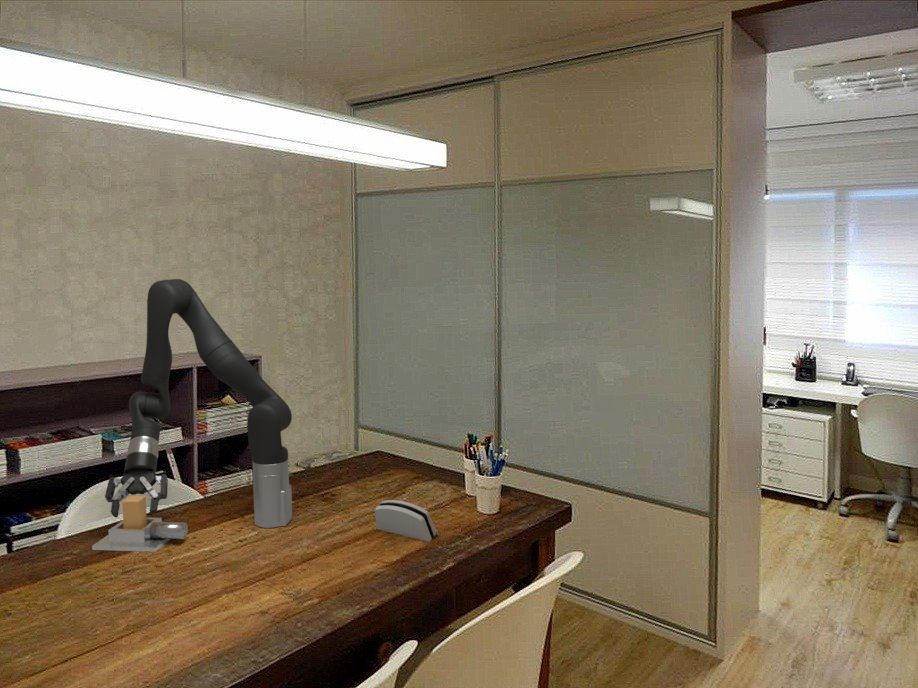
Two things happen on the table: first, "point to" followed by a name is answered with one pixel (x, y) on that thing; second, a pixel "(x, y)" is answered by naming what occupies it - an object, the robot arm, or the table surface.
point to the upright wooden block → (134, 512)
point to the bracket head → (142, 536)
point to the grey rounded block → (404, 520)
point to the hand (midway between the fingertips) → (133, 515)
